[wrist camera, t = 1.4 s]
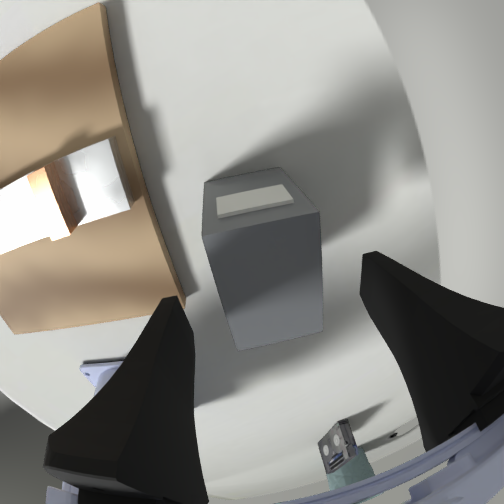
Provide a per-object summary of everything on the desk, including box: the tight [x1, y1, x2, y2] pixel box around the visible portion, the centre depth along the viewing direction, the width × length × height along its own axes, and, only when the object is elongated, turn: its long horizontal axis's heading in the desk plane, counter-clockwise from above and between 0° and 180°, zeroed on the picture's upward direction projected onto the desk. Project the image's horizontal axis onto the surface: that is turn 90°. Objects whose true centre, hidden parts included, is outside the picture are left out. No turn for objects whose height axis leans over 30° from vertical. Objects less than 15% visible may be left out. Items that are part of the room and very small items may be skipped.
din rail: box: [0, 136, 135, 254], centre depth 11 cm, size 4×15×2 cm, turn 100°
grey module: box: [202, 167, 323, 351], centre depth 13 cm, size 6×4×6 cm, turn 10°
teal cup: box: [327, 448, 384, 504], centre depth 40 cm, size 10×10×12 cm
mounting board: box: [0, 2, 186, 335], centre depth 13 cm, size 18×16×1 cm
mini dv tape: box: [318, 420, 358, 474], centre depth 32 cm, size 8×2×6 cm, turn 170°
